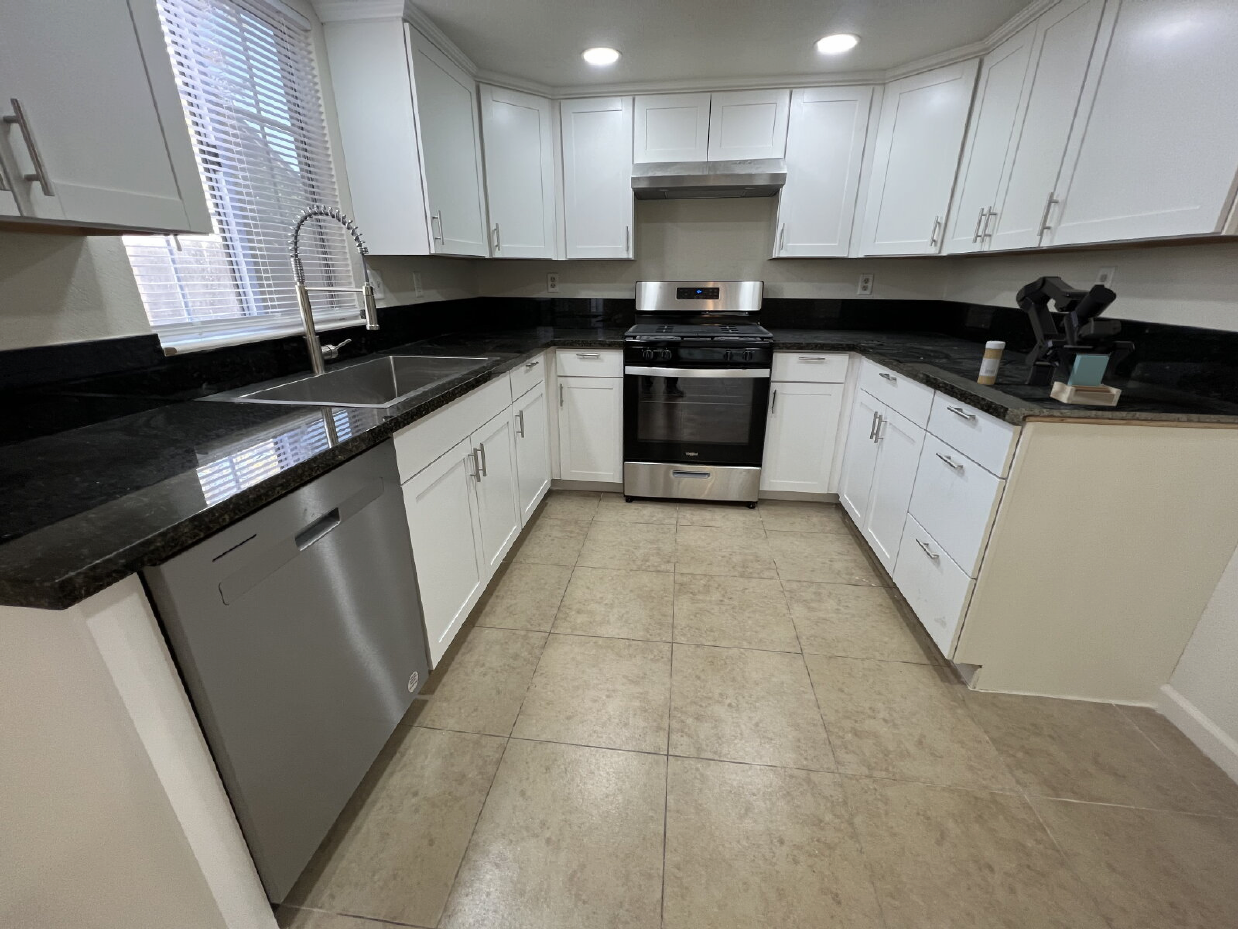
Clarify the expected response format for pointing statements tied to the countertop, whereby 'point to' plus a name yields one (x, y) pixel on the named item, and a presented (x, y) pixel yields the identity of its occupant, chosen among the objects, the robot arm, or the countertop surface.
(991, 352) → the sprinkles bottle
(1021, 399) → the countertop surface
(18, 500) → the countertop surface
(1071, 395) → the board rack
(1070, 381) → the tall sheet
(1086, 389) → the offcut stack
